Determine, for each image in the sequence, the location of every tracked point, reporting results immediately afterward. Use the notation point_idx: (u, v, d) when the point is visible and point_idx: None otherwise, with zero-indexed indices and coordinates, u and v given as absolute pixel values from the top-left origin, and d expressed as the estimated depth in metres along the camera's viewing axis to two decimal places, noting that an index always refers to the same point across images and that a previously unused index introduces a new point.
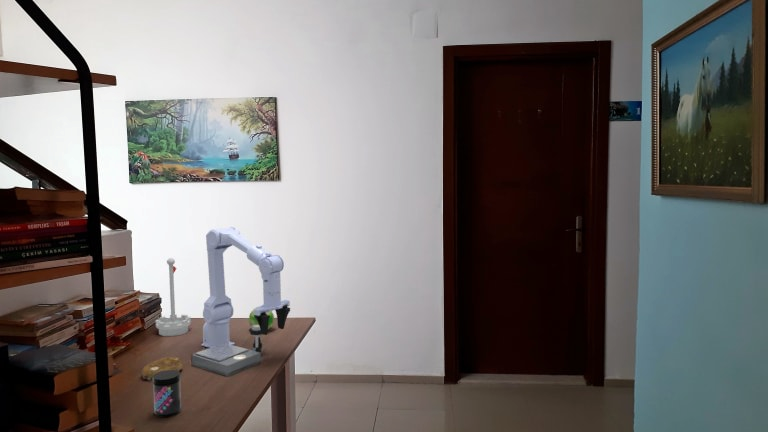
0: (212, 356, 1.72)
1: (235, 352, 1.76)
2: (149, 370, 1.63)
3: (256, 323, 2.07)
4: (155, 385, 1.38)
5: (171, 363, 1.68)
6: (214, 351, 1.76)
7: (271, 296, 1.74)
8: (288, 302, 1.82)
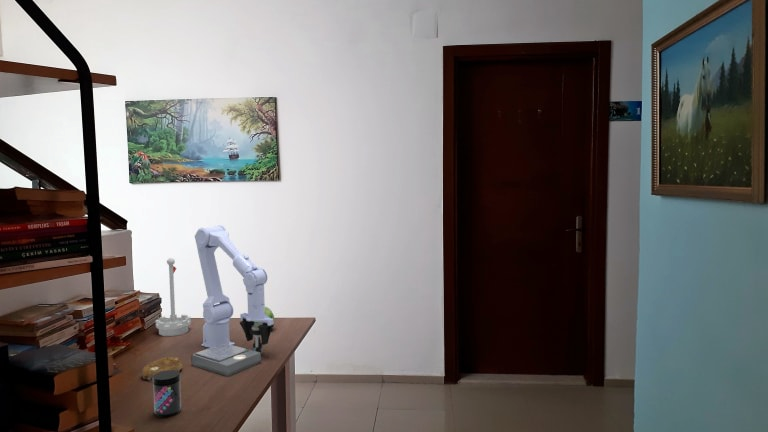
0: (212, 356, 1.72)
1: (235, 352, 1.76)
2: (149, 370, 1.63)
3: (256, 323, 2.07)
4: (155, 385, 1.38)
5: (171, 363, 1.69)
6: (214, 351, 1.76)
7: None
8: (267, 321, 1.79)
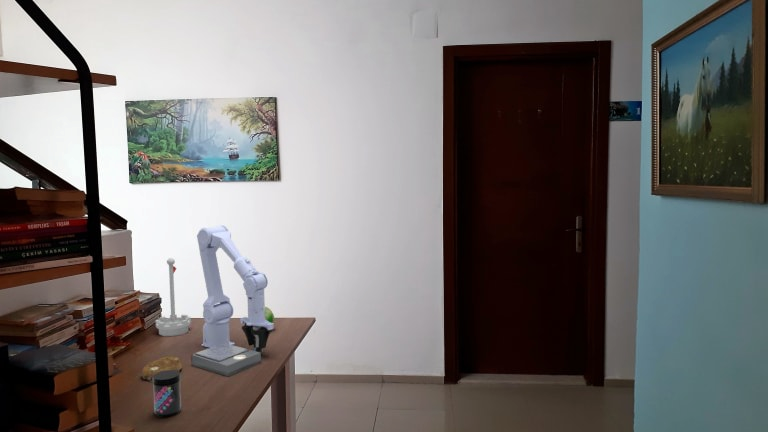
0: (212, 356, 1.72)
1: (235, 352, 1.76)
2: (149, 370, 1.63)
3: None
4: (155, 385, 1.38)
5: (171, 363, 1.69)
6: (214, 351, 1.76)
7: None
8: (267, 326, 1.79)
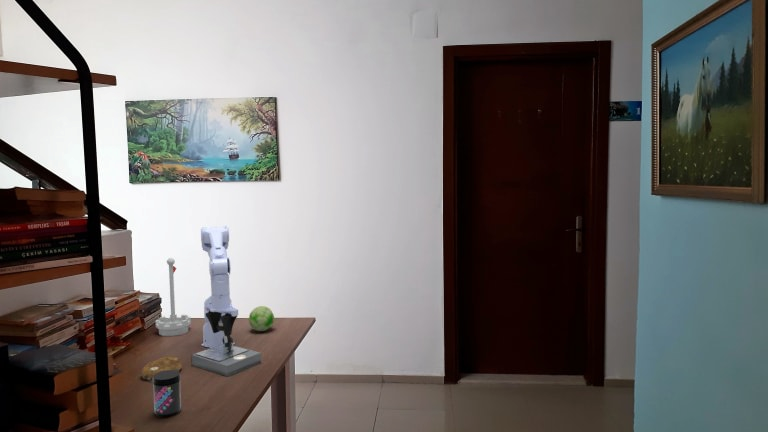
0: (212, 357, 1.72)
1: (236, 352, 1.76)
2: (149, 370, 1.63)
3: (256, 323, 2.07)
4: (155, 385, 1.38)
5: (170, 363, 1.69)
6: (214, 352, 1.76)
7: None
8: (232, 312, 1.71)
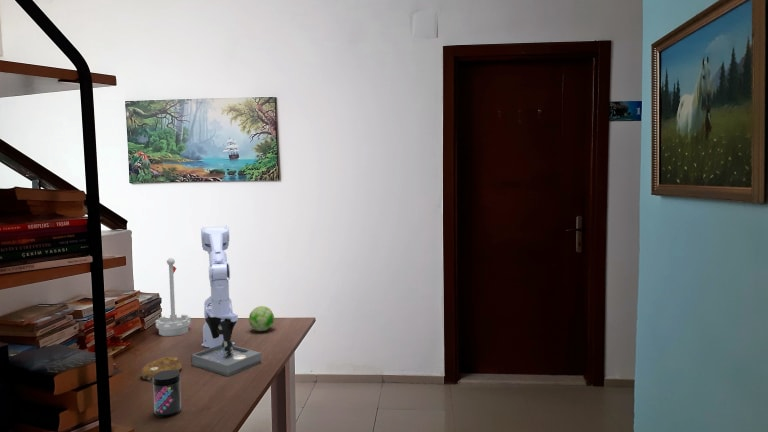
0: None
1: None
2: (149, 370, 1.63)
3: (256, 323, 2.07)
4: (155, 385, 1.38)
5: (170, 363, 1.69)
6: (214, 355, 1.77)
7: None
8: (231, 317, 1.71)
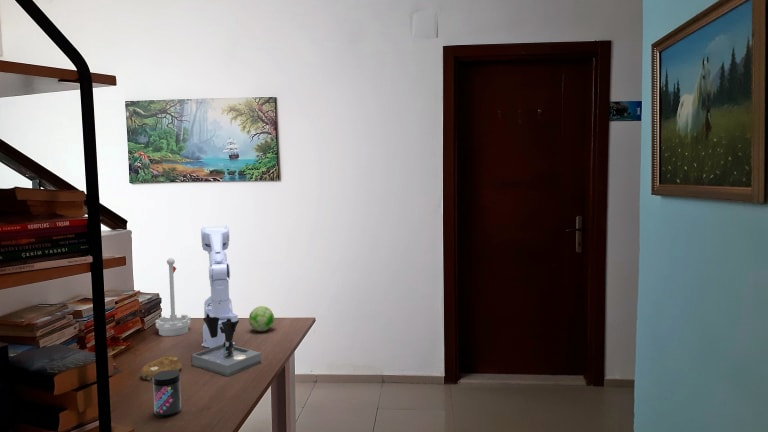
0: None
1: None
2: (149, 370, 1.63)
3: (256, 323, 2.07)
4: (155, 385, 1.38)
5: (170, 363, 1.69)
6: (214, 355, 1.77)
7: None
8: (231, 317, 1.71)
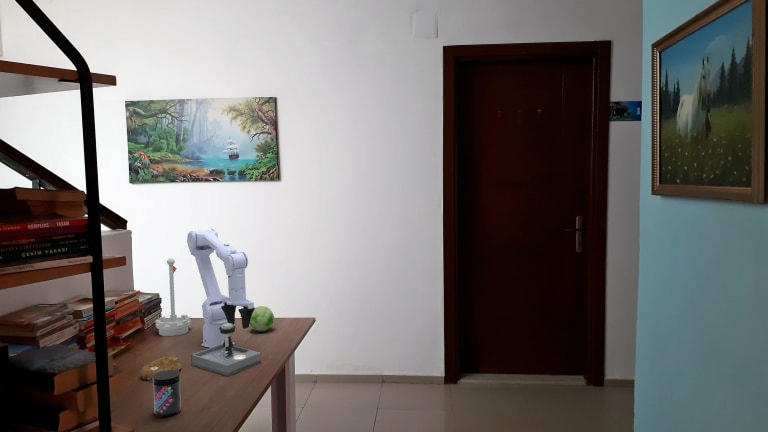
0: None
1: None
2: (149, 370, 1.64)
3: (256, 323, 2.07)
4: (155, 385, 1.38)
5: (170, 363, 1.69)
6: (214, 355, 1.77)
7: None
8: (248, 304, 1.78)
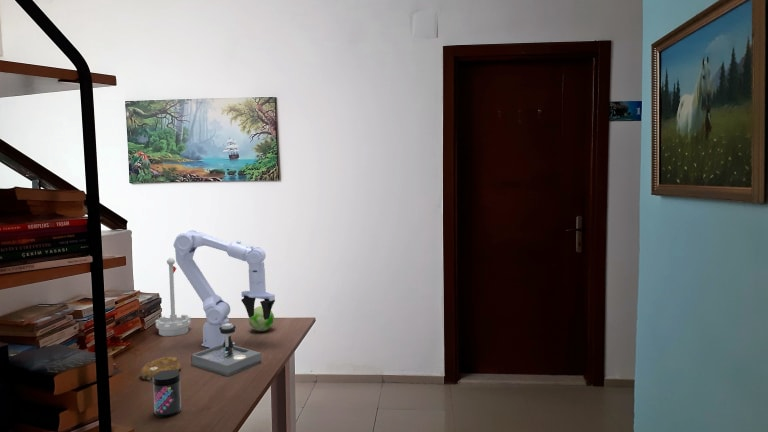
0: None
1: None
2: (148, 370, 1.63)
3: (256, 323, 2.07)
4: (155, 385, 1.38)
5: (170, 363, 1.69)
6: (214, 355, 1.77)
7: None
8: (269, 297, 1.89)
